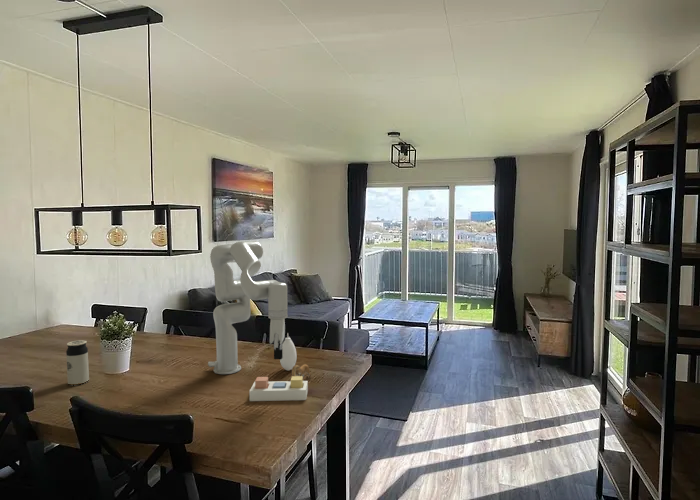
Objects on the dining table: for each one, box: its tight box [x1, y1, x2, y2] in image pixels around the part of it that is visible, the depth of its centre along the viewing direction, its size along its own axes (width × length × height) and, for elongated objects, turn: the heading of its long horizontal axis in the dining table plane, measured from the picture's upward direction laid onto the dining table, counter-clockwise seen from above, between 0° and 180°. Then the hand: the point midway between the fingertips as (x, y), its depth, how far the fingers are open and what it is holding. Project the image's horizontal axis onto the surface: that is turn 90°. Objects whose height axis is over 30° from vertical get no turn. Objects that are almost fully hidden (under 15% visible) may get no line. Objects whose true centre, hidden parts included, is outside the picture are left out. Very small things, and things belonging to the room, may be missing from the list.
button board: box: [248, 380, 309, 402], centre depth 174 cm, size 22×10×4 cm, turn 92°
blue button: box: [273, 382, 286, 388], centre depth 174 cm, size 4×4×4 cm
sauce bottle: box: [279, 332, 298, 372], centre depth 205 cm, size 8×8×18 cm
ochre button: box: [290, 375, 304, 388], centre depth 174 cm, size 4×4×4 cm
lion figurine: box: [291, 363, 312, 379], centre depth 189 cm, size 15×5×9 cm, turn 163°
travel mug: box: [65, 339, 90, 385], centre depth 190 cm, size 8×8×18 cm
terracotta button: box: [254, 376, 269, 389], centre depth 174 cm, size 4×4×4 cm
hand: (278, 358), depth 174 cm, fingers closed
